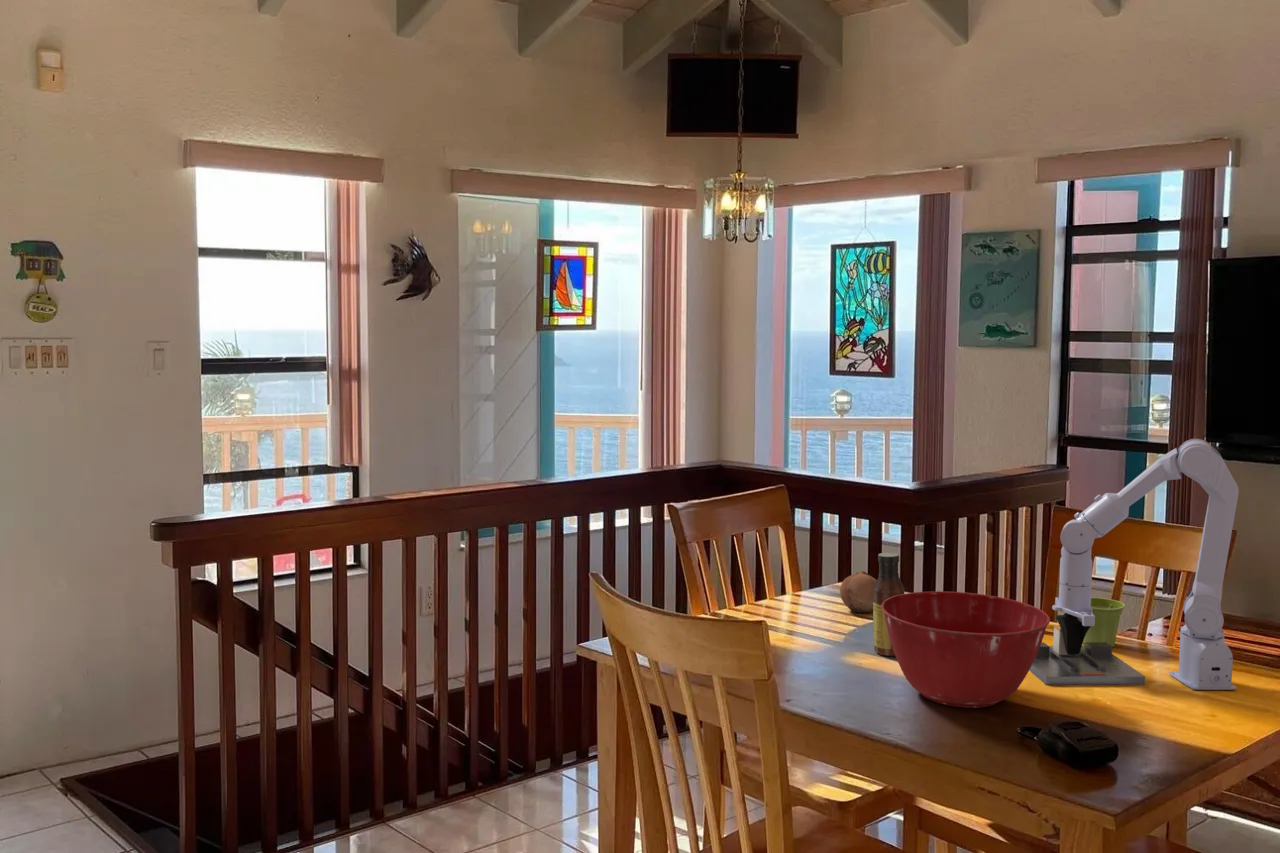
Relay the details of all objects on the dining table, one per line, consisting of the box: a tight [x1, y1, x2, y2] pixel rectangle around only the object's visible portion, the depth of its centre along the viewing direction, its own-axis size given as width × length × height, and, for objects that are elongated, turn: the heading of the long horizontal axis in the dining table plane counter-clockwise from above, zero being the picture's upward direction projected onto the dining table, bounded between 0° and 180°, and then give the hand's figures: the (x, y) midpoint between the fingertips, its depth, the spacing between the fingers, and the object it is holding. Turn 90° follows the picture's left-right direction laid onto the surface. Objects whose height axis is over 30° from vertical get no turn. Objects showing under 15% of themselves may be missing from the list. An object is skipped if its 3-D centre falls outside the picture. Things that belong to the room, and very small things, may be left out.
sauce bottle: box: [872, 552, 906, 657], centre depth 230 cm, size 7×6×20 cm
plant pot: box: [1083, 597, 1126, 648], centre depth 237 cm, size 9×9×9 cm
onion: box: [839, 570, 877, 615], centre depth 263 cm, size 10×9×10 cm
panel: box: [1029, 641, 1146, 686], centre depth 221 cm, size 20×18×4 cm
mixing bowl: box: [881, 590, 1051, 709], centre depth 204 cm, size 28×28×16 cm
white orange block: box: [1052, 624, 1080, 655], centre depth 225 cm, size 3×4×5 cm
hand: (1072, 653), depth 222 cm, fingers closed
